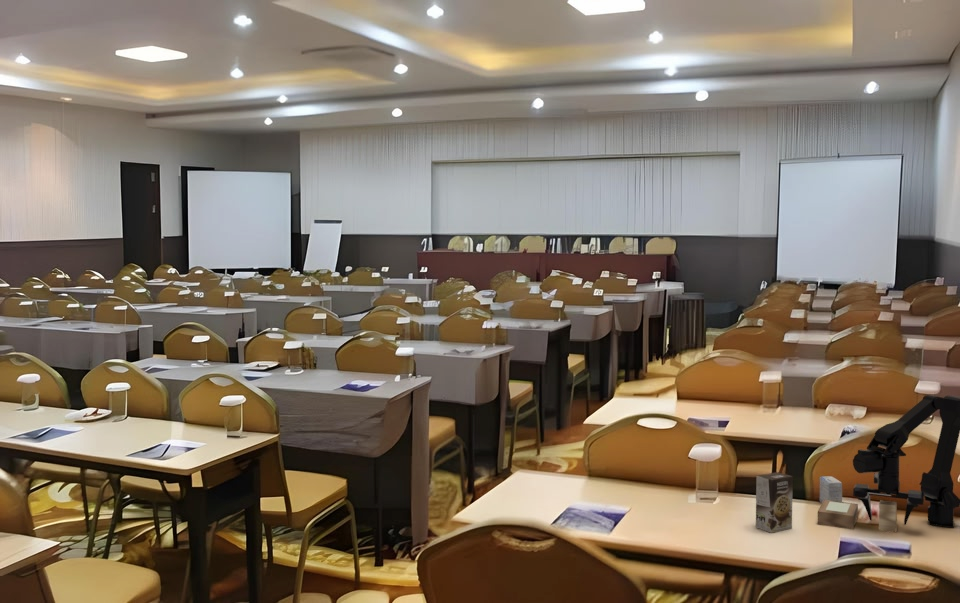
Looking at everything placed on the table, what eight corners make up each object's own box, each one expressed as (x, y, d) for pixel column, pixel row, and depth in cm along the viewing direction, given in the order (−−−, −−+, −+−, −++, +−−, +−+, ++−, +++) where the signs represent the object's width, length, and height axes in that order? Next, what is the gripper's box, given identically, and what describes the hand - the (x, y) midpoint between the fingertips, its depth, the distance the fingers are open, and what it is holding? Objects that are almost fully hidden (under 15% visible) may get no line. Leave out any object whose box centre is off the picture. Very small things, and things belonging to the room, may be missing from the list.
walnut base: (857, 516, 258) (857, 503, 257) (853, 529, 246) (853, 515, 245) (823, 511, 263) (823, 498, 262) (817, 524, 251) (817, 510, 250)
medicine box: (842, 508, 266) (842, 482, 266) (828, 508, 266) (828, 482, 266) (832, 501, 274) (832, 476, 273) (819, 501, 274) (819, 476, 274)
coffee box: (771, 533, 242) (771, 479, 242) (754, 527, 248) (755, 474, 247) (793, 528, 247) (793, 475, 246) (776, 522, 252) (776, 471, 252)
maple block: (896, 528, 246) (896, 501, 246) (895, 532, 242) (896, 505, 242) (879, 525, 248) (880, 499, 248) (878, 530, 245) (879, 503, 244)
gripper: (924, 468, 247) (923, 519, 248) (857, 461, 256) (856, 510, 257) (923, 477, 237) (922, 529, 238) (853, 469, 247) (852, 520, 247)
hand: (887, 522), depth 245 cm, fingers open, 9 cm apart
